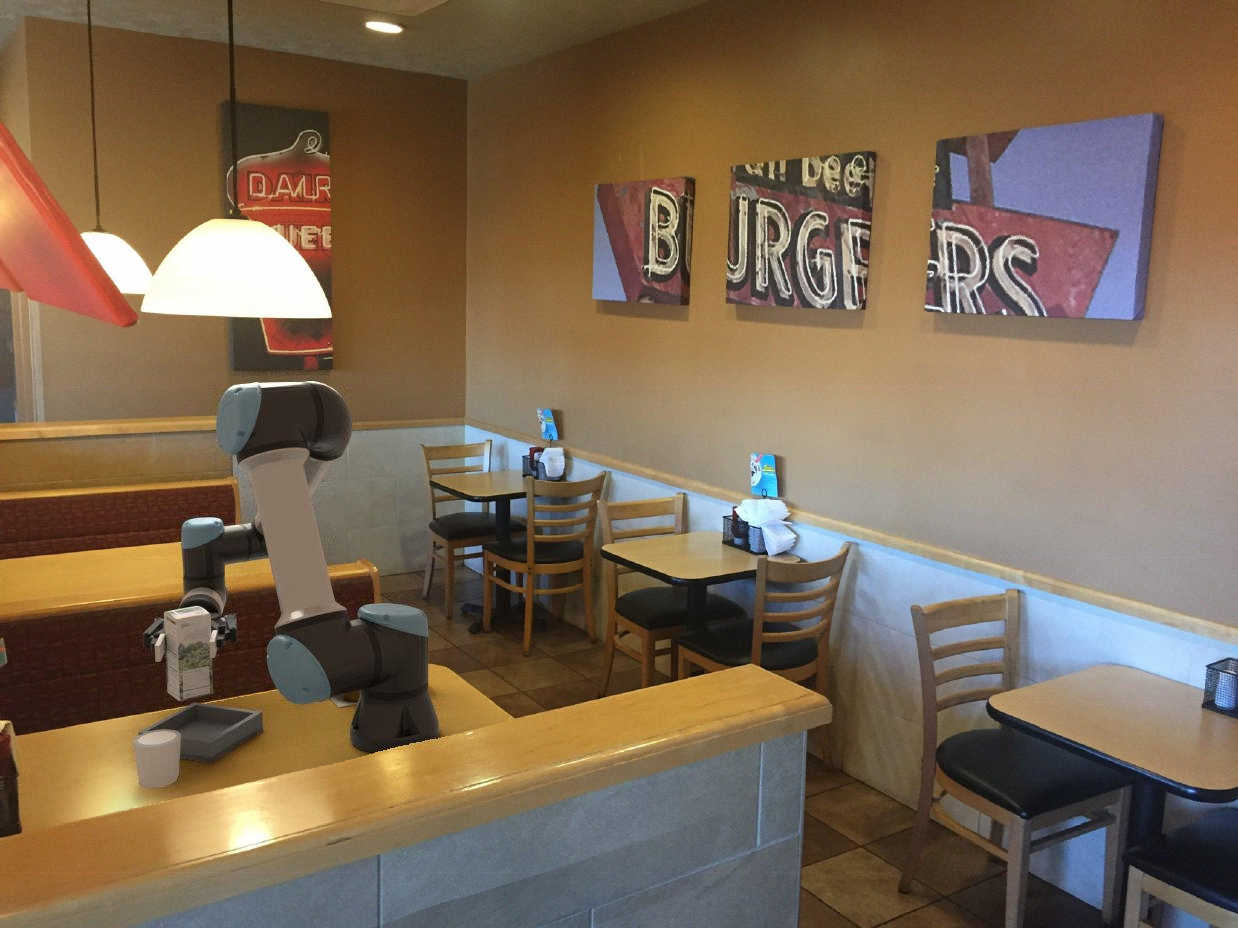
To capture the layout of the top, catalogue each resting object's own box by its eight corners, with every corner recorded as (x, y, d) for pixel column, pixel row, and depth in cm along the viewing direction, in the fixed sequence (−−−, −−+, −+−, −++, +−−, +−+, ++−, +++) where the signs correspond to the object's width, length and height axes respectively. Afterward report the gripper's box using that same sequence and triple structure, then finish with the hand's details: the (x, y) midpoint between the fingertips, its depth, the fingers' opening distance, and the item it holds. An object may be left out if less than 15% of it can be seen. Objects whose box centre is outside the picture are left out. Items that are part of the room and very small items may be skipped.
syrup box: (200, 685, 175) (197, 604, 173) (214, 694, 171) (210, 611, 169) (166, 693, 171) (162, 610, 169) (179, 703, 167) (175, 617, 165)
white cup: (162, 792, 154) (160, 748, 153) (124, 786, 156) (122, 742, 155) (192, 773, 161) (190, 731, 160) (156, 767, 163) (154, 726, 162)
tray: (263, 730, 178) (262, 711, 177) (211, 763, 164) (210, 742, 164) (195, 720, 181) (194, 702, 181) (139, 752, 168) (138, 731, 168)
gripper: (258, 628, 190) (252, 668, 168) (140, 636, 184) (117, 678, 162) (257, 590, 189) (250, 624, 167) (138, 596, 183) (115, 633, 161)
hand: (185, 651), depth 165 cm, fingers closed on syrup box, 7 cm apart
